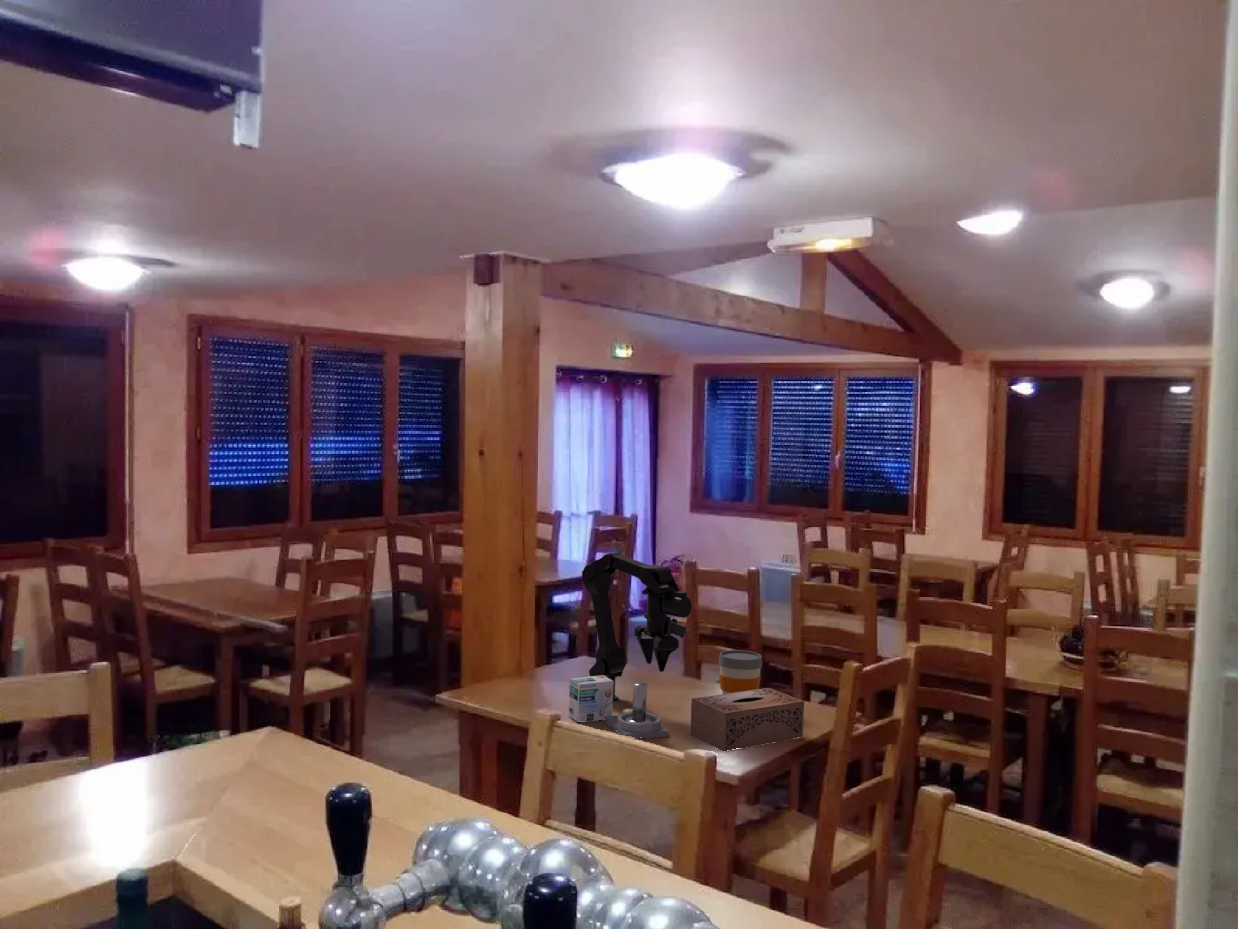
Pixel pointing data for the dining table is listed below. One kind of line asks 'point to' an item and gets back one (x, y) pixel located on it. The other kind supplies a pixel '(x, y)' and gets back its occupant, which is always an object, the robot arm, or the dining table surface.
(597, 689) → the light bulb box
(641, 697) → the metal flanged shaft
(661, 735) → the carrier plate
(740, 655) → the reusable coffee cup
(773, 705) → the tissue box cover
